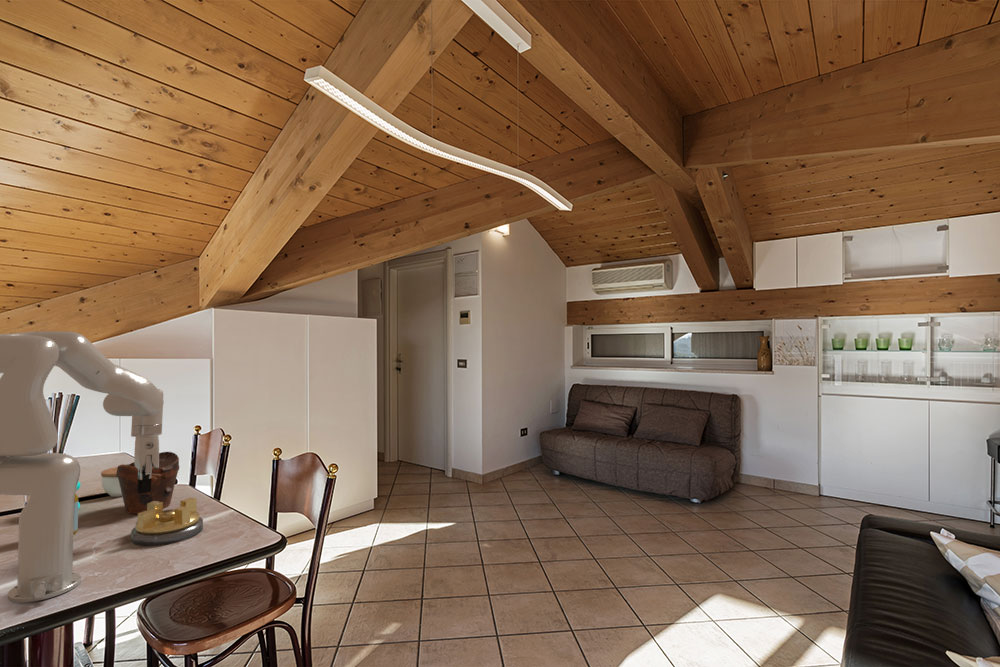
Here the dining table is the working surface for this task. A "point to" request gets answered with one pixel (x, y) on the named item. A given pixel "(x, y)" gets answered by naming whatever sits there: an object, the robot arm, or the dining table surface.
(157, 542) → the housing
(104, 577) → the dining table surface
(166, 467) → the brown chunky piece
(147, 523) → the gold crown turntable
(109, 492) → the lidded bowl
